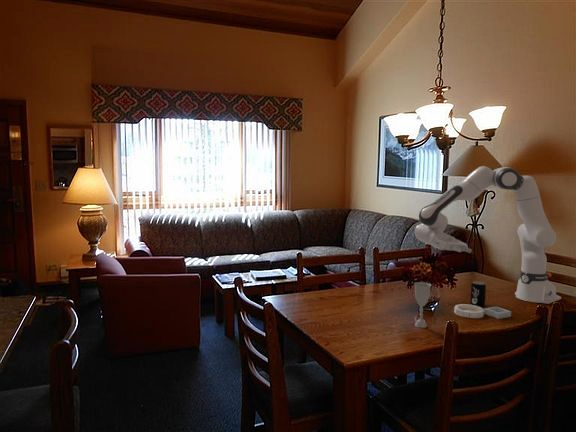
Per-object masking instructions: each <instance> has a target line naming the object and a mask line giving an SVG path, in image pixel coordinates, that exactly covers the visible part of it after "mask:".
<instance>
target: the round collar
mask: <svg viewBox="0 0 576 432" xmlns="http://www.w3.org/2000/svg"><path fill="white" fill-rule="evenodd" d="M453 309H454V310H453V313H454V314H455V315H457V316H459V317H463V318H466V319H467V318H468V319H480V318H481V319H482V318H483V317H484V316H485V314H484V308H481V307H479V306H475V305H470V303H469V304H467V303H466V304H465V303H459V304H455V306H454V307H453Z"/></svg>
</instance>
